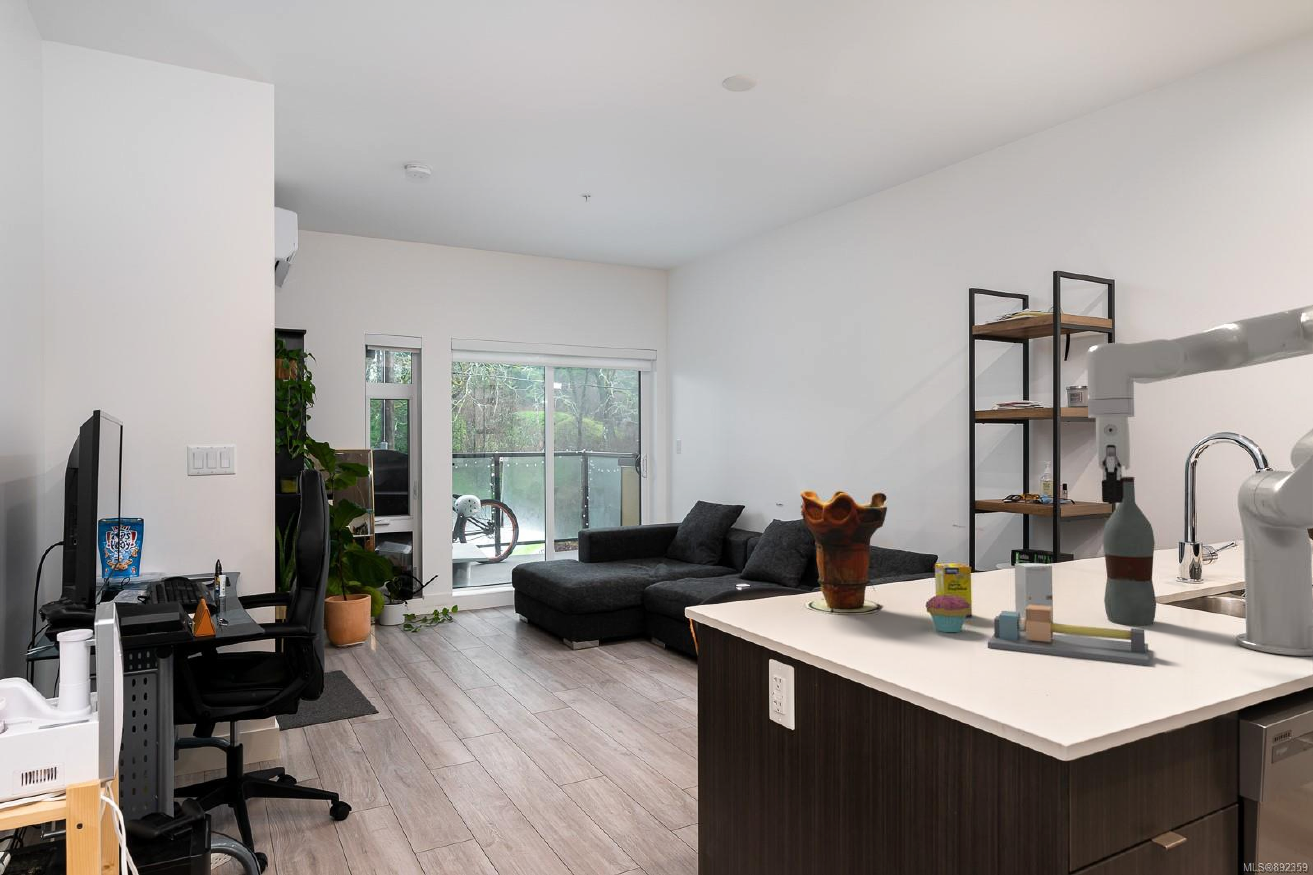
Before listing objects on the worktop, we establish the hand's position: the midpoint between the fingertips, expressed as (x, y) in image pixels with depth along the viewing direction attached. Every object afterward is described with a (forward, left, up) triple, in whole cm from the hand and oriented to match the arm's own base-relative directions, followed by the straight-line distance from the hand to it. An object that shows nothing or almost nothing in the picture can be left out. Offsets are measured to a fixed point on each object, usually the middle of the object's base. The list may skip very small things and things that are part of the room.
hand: (1113, 500), depth 147 cm
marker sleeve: (+12, +10, -25) cm, 29 cm away
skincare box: (+15, -10, -26) cm, 32 cm away
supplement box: (+31, -10, -26) cm, 42 cm away
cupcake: (+29, +5, -26) cm, 40 cm away
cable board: (+8, +10, -26) cm, 29 cm away
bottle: (-2, -20, -26) cm, 33 cm away
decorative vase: (+55, -8, -26) cm, 62 cm away
